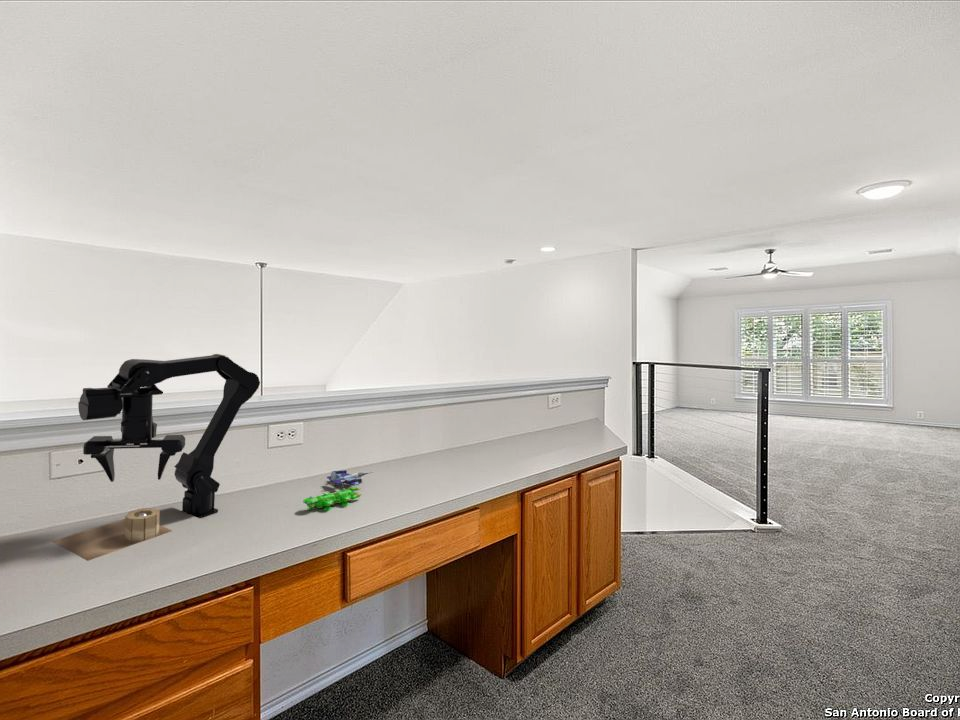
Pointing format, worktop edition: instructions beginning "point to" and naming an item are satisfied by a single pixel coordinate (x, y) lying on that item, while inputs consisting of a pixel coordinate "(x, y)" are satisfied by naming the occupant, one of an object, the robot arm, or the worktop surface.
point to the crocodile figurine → (332, 498)
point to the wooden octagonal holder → (142, 524)
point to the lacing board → (100, 540)
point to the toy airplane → (346, 478)
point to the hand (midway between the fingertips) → (136, 480)
